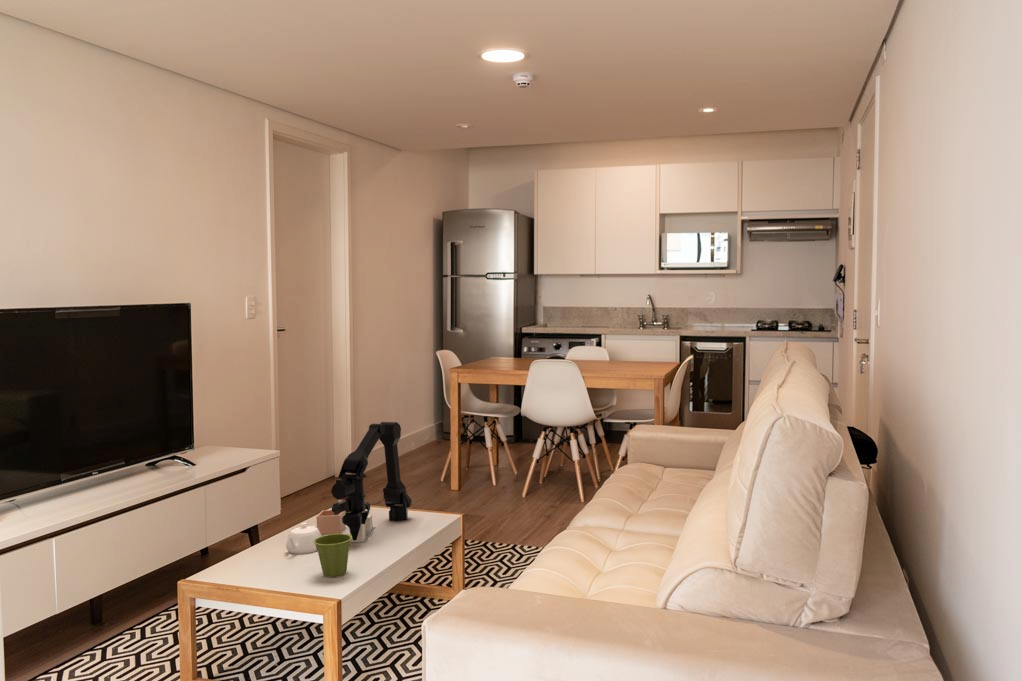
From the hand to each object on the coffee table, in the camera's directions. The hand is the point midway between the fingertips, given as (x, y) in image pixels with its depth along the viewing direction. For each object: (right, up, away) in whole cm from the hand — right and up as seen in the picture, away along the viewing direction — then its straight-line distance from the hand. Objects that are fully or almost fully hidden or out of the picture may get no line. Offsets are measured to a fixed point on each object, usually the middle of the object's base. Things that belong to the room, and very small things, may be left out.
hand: (357, 536), depth 283 cm
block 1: (0, -1, 0) cm, 1 cm away
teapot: (-17, -4, -8) cm, 19 cm away
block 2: (0, -1, +13) cm, 13 cm away
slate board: (0, -2, +7) cm, 7 cm away
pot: (-12, -2, +12) cm, 17 cm away
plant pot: (-1, -4, -32) cm, 32 cm away
